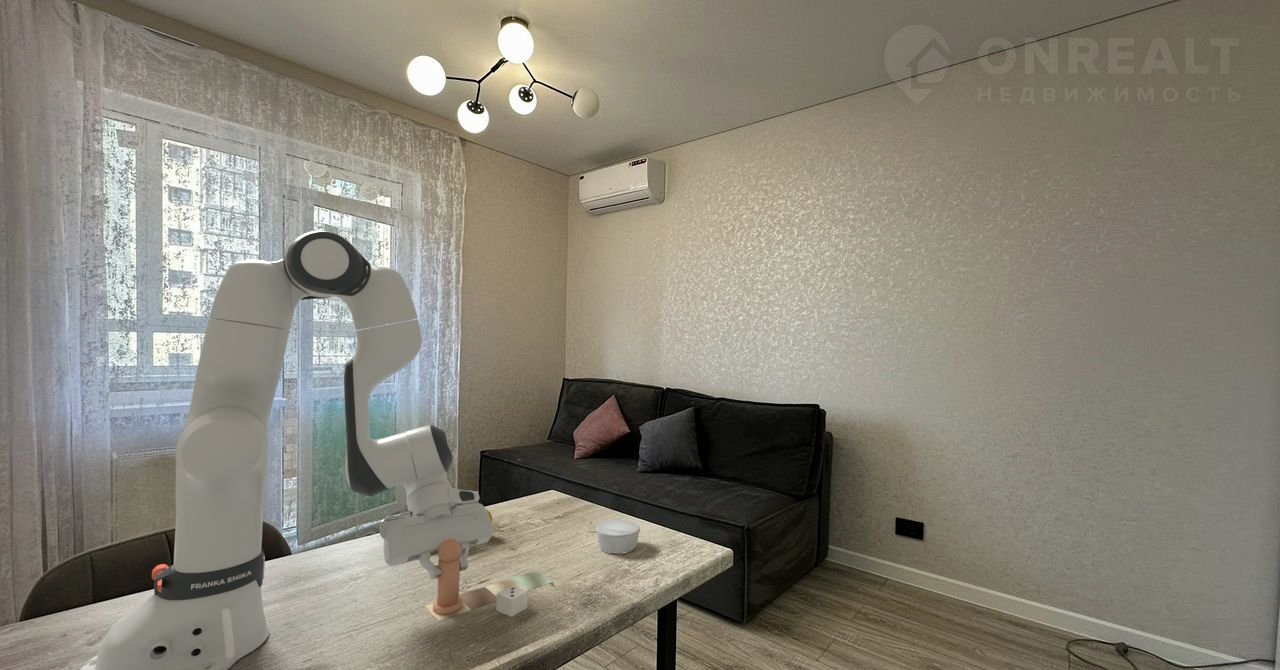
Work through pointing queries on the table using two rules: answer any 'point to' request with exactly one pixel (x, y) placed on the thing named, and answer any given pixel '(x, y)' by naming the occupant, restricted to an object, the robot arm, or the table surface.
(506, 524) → the table surface
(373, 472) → the robot arm
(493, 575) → the table surface
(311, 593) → the table surface
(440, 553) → the round-topped peg
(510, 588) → the die
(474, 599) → the board
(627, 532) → the ramekin
